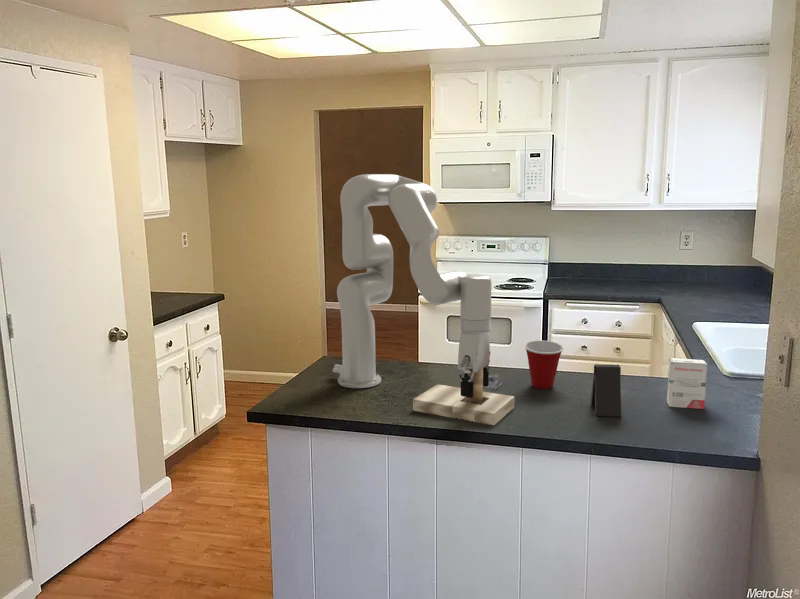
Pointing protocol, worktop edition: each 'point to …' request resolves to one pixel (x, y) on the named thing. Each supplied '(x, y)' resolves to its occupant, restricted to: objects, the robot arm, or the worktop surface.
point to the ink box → (686, 383)
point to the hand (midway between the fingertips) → (474, 391)
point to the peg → (477, 388)
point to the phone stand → (606, 391)
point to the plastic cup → (543, 362)
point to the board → (463, 405)
